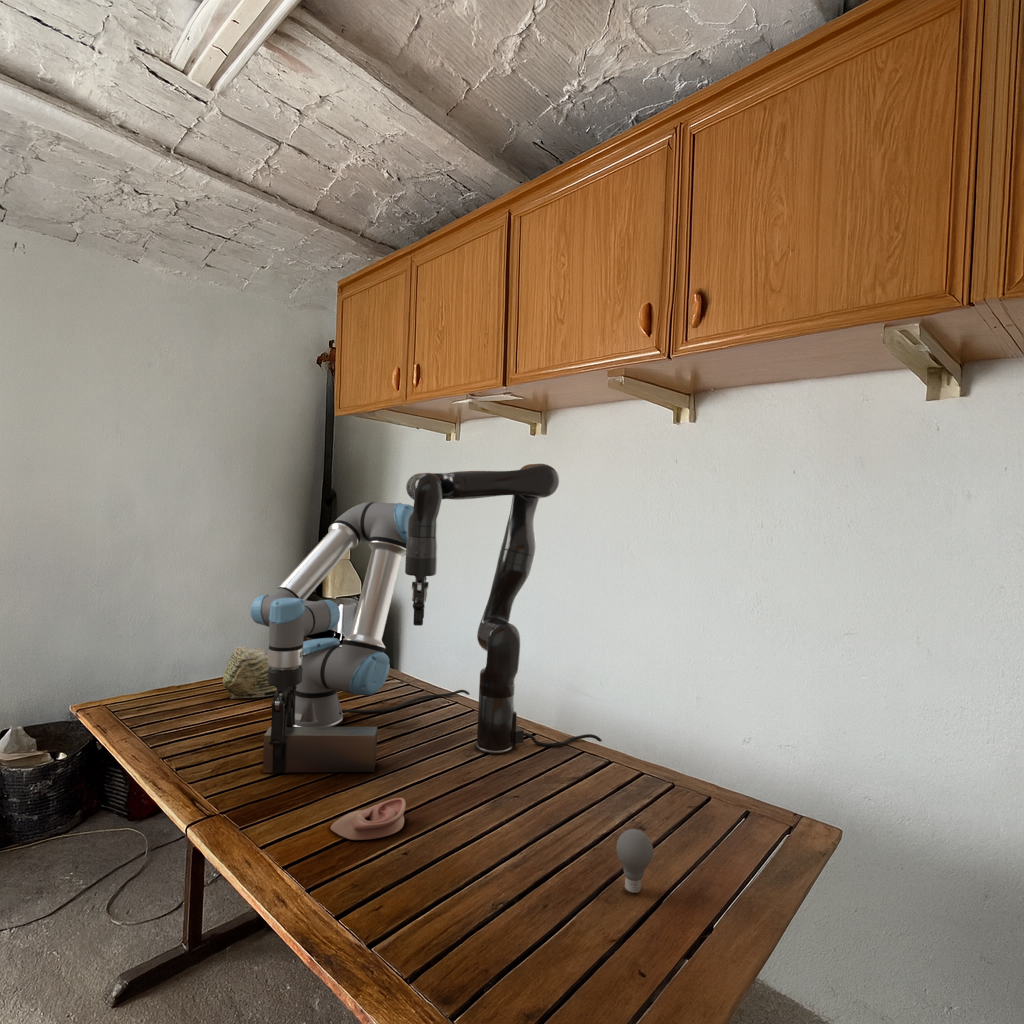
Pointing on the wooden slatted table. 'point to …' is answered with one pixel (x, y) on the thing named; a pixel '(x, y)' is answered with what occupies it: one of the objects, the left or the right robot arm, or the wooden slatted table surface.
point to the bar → (325, 749)
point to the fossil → (248, 674)
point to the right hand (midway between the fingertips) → (418, 621)
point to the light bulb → (634, 857)
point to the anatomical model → (372, 821)
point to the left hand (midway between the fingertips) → (282, 765)
